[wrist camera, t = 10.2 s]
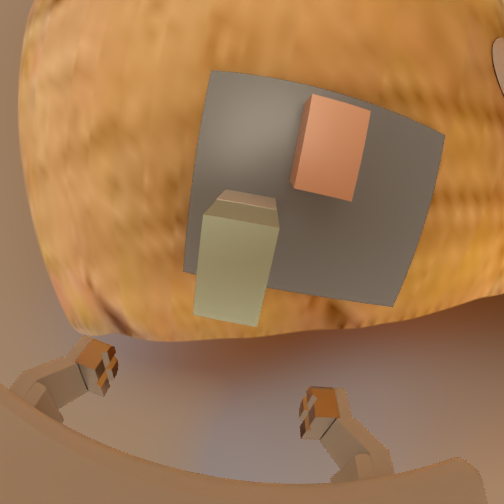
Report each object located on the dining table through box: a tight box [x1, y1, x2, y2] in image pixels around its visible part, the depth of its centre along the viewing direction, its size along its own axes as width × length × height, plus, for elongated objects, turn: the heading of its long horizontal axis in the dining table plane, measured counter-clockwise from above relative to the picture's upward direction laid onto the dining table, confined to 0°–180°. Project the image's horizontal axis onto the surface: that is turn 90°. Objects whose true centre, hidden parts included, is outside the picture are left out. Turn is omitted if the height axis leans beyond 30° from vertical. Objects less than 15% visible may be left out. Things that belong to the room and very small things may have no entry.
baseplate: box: [183, 70, 445, 307], centre depth 25 cm, size 26×22×6 cm
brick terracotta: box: [289, 94, 371, 202], centre depth 22 cm, size 5×8×5 cm, turn 170°
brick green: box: [193, 199, 280, 327], centre depth 21 cm, size 5×8×5 cm, turn 170°
